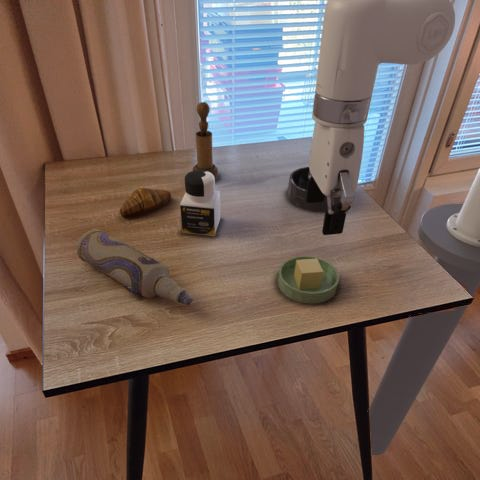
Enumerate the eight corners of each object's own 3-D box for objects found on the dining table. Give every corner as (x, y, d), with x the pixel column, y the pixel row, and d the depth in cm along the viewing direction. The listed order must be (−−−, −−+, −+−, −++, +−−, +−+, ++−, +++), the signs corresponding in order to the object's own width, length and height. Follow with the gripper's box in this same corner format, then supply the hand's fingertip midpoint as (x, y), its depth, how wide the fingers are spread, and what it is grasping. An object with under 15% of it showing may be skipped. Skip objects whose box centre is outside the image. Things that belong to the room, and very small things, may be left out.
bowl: (334, 182, 108) (338, 165, 105) (353, 210, 98) (357, 192, 95) (282, 184, 106) (283, 167, 103) (295, 213, 96) (297, 195, 93)
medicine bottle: (182, 233, 89) (177, 181, 81) (189, 216, 94) (186, 165, 86) (214, 237, 89) (213, 184, 80) (220, 219, 94) (220, 168, 85)
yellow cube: (313, 275, 80) (317, 258, 77) (319, 288, 77) (323, 271, 74) (293, 276, 79) (296, 259, 77) (298, 290, 77) (301, 273, 74)
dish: (326, 264, 83) (328, 253, 81) (344, 301, 75) (347, 290, 74) (272, 268, 82) (273, 258, 80) (285, 306, 74) (286, 295, 72)
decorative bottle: (78, 267, 80) (69, 238, 76) (109, 250, 85) (102, 221, 80) (174, 328, 69) (171, 298, 65) (204, 305, 74) (203, 275, 69)
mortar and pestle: (188, 180, 107) (183, 104, 94) (199, 169, 111) (196, 96, 98) (211, 185, 105) (209, 109, 92) (222, 174, 109) (222, 100, 97)
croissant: (161, 193, 101) (159, 173, 98) (178, 204, 98) (177, 184, 95) (113, 212, 95) (108, 192, 91) (129, 224, 91) (126, 204, 88)
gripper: (392, 130, 51) (363, 245, 63) (346, 85, 63) (329, 189, 75) (334, 133, 50) (315, 249, 63) (298, 87, 62) (288, 192, 74)
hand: (322, 216), depth 69 cm, fingers open, 9 cm apart
